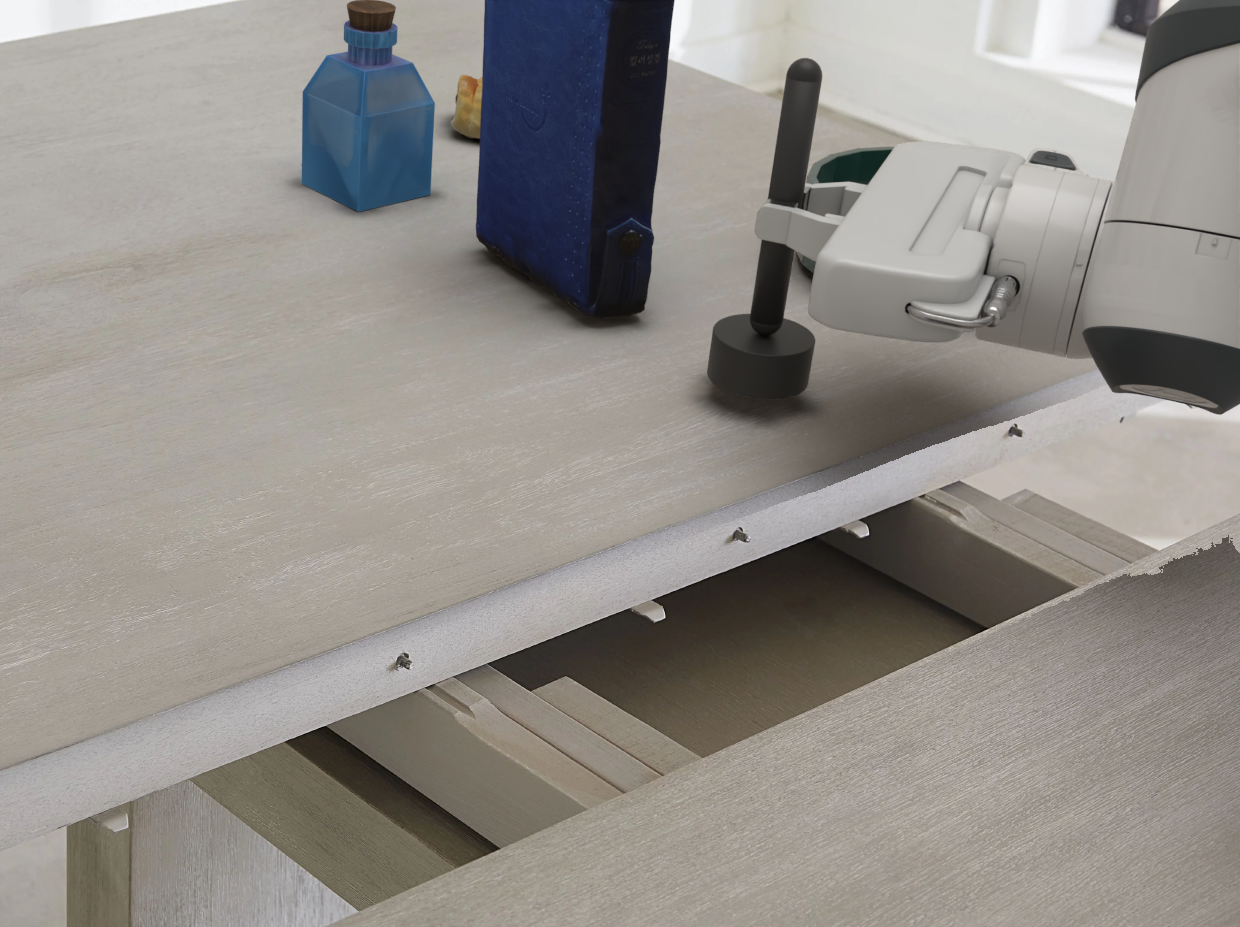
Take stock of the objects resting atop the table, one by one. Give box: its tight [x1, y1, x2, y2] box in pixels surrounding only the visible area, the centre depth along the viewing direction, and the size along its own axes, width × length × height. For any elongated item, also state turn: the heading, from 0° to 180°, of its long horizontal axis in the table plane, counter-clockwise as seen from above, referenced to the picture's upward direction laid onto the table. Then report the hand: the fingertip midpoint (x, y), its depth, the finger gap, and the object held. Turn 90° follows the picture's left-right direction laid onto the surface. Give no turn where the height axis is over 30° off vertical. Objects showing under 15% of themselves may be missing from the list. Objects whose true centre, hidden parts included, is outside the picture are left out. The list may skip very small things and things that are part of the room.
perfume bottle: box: [301, 0, 436, 213], centre depth 125 cm, size 6×6×12 cm
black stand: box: [706, 57, 823, 401], centre depth 100 cm, size 6×6×17 cm
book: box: [475, 0, 676, 319], centre depth 111 cm, size 14×5×20 cm, turn 32°
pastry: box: [450, 74, 483, 140], centre depth 139 cm, size 9×7×4 cm
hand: (767, 207), depth 100 cm, fingers closed on black stand
